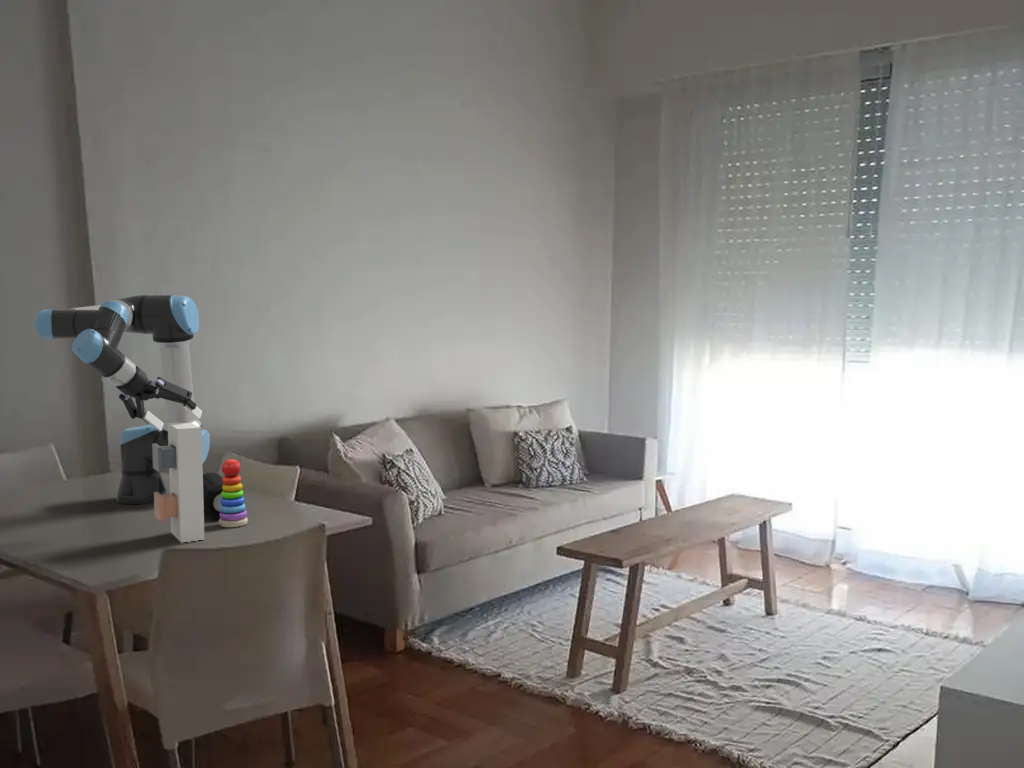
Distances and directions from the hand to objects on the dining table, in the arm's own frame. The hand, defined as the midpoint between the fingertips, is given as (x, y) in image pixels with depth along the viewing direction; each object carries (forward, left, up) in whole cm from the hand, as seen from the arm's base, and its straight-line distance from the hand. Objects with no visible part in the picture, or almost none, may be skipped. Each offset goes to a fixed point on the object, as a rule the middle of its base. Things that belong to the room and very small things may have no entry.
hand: (180, 421), depth 254 cm
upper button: (+12, -6, -11) cm, 17 cm away
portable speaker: (-14, +12, -30) cm, 35 cm away
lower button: (+12, -6, -24) cm, 27 cm away
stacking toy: (+5, +12, -30) cm, 33 cm away
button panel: (+12, -2, -30) cm, 32 cm away
